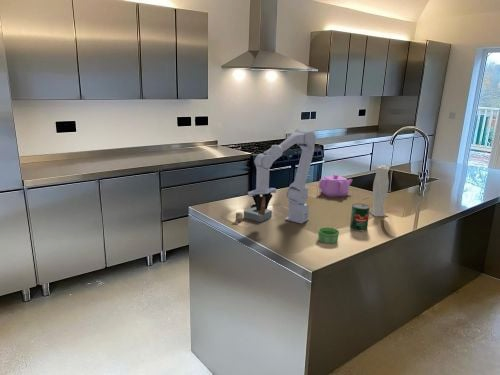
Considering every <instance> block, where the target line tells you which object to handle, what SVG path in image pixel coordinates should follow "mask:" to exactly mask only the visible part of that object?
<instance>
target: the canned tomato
mask: <svg viewBox="0 0 500 375" xmlns="http://www.w3.org/2000/svg"><path fill="white" fill-rule="evenodd" d="M370 208H371V207H370V205H368V204H365V203H359V202H358V203H353V204H352V205H351V212H350V213H351V216H350V223H349V224H350V225H349V228H350V229H351V230H352V231H357V232H365V231H367V230H368V227H369V225H368V224H369V217H370V216H369V215H370V213H369V212H370Z"/></svg>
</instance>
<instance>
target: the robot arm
mask: <svg viewBox="0 0 500 375" xmlns="http://www.w3.org/2000/svg"><path fill="white" fill-rule="evenodd" d="M316 140H317V136H316V134H315V133H314V132H313V131H312V130H303V129H300V128H299V129H295V130H294V131H293V132H291V134H290V135H289V136H288V137H287V138H286V139H284V140H283V141H282V142H280V143H279V144H272V145H271V147H270V148H268V149H267V150H265V151H263V153H259V154H257V155H256V156H255V159H254V160H253V163H254V165H255V168H256V177H255V178H256V183H255V189H253V190H251V191H247V197H250V198H251V197H252V199H253V202H255V205H256V209H257V210H258V211H260V209H261V201H262V197H260V195H262V196H265V197H266V201H265V209H268V207H269V203H270V201H271V199H272V198H273V194H277V188H275V187H270V168H271V167H272V165H273V163H274V162H275V161H277V159H279V158H281V157H282V156H283V155H284V151H286V150H288V149H289V148H291V147H293V146H294V145H295V144H296V145H297V146H299V147H300V150H301V154H300V159H299V163H298V167H297V170H296V173H295V177H294V181H293V182H292V183H290V184H289V187H288V188H287V190H286V194H285V195H286V198H287V199H288V200H287V201H288V216H286V217H285V218H284V220H286V221H290V222H293V223H297V224H303V223H305V222H307V221H309V219H310V218H309V211H310V207H309V205H308V204H307V203H306V202H307V201H308V193H309V188H308V187H307V185H306V184H307V179H308V176H309V171H310V167H311V163H312V160H313V157H314V152H315V144H316Z"/></svg>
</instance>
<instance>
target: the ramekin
mask: <svg viewBox="0 0 500 375" xmlns="http://www.w3.org/2000/svg"><path fill="white" fill-rule="evenodd" d="M317 232H318V236H317V237H318V241H320V242H321V243H323V244H326V245H327V244H330V245H331V244H335V243H337V242H338V241H339V235H340V231H339V230H338V229H337V228H333V227H328V226H324V227H320V228H318V229H317Z"/></svg>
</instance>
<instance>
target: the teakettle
mask: <svg viewBox="0 0 500 375" xmlns="http://www.w3.org/2000/svg"><path fill="white" fill-rule="evenodd" d="M352 182H353V179H352V178H345V177H343V176H341V175H339V174H332V175H331V176H329V175H326V176H324V177H323V178H320V179H319V182H318V189H320V190H321V193H322V194H323V195H325V196H326V197H329V198H330V197H331V198H332V197H333V198H338V197H341V198H342V197H348V195H349V188H350V185H351V184H352Z"/></svg>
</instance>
